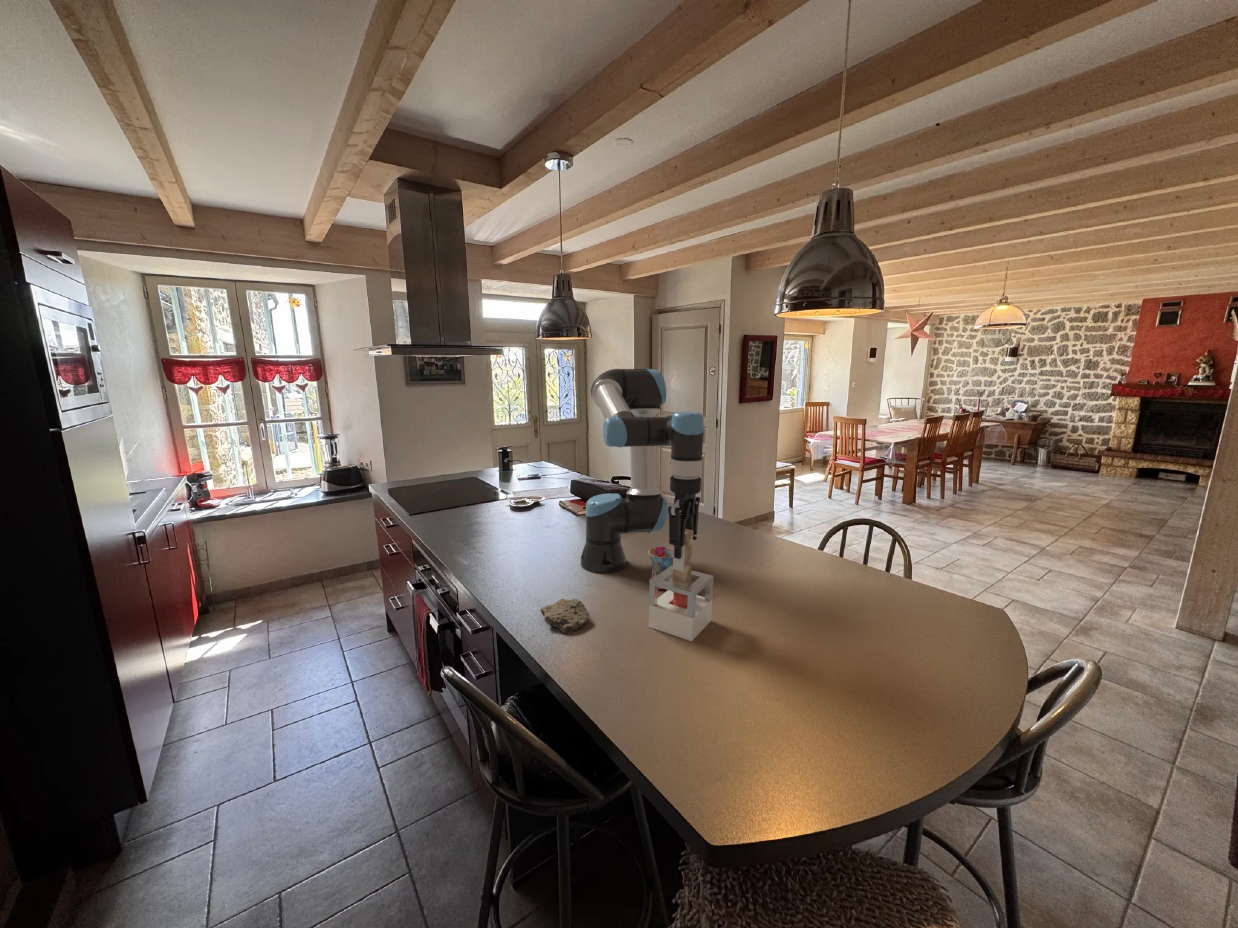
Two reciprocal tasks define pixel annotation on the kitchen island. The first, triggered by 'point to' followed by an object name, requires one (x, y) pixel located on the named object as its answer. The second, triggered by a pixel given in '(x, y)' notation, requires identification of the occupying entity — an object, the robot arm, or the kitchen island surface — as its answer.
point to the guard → (682, 588)
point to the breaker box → (679, 617)
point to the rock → (566, 614)
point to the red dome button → (680, 600)
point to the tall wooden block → (685, 575)
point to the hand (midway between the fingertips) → (682, 566)
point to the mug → (660, 560)
